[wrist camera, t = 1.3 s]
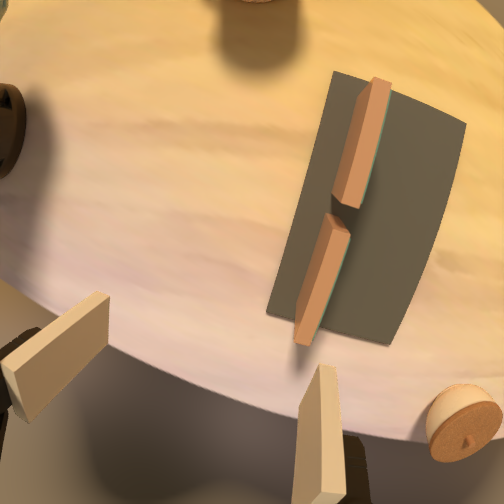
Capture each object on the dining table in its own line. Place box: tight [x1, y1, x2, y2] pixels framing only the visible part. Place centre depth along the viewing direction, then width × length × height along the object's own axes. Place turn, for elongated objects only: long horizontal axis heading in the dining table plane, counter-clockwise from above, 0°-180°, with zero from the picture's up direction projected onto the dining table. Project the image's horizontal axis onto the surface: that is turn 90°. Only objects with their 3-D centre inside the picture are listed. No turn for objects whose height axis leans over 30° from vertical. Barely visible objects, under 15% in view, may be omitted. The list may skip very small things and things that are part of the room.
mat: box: [266, 71, 466, 345], centre depth 30 cm, size 15×26×1 cm, turn 165°
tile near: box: [331, 77, 392, 209], centre depth 25 cm, size 2×10×8 cm, turn 165°
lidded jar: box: [426, 384, 503, 462], centre depth 31 cm, size 11×11×9 cm
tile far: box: [294, 213, 351, 346], centre depth 28 cm, size 2×10×8 cm, turn 165°
